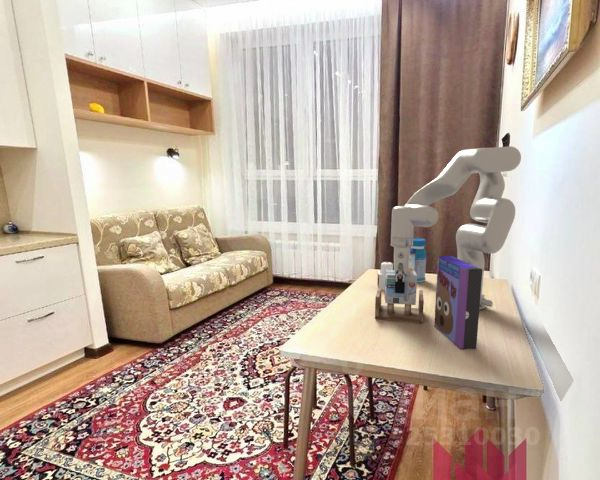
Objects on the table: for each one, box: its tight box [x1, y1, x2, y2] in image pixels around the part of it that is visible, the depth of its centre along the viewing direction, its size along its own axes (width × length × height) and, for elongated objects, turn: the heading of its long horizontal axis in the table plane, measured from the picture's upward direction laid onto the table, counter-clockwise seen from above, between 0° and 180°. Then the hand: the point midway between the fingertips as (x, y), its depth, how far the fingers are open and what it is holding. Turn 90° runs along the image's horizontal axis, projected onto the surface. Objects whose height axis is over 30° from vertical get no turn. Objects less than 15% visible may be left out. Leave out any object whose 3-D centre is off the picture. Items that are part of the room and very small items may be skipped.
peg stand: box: [374, 286, 425, 324], centre depth 136 cm, size 12×16×8 cm
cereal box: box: [433, 255, 482, 350], centre depth 116 cm, size 17×5×24 cm, turn 5°
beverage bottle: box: [409, 237, 427, 283], centre depth 180 cm, size 8×8×20 cm
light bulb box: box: [384, 270, 418, 306], centre depth 135 cm, size 11×7×11 cm, turn 81°
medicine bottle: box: [377, 260, 394, 291], centre depth 169 cm, size 7×7×12 cm
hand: (399, 288), depth 135 cm, fingers open, 9 cm apart
